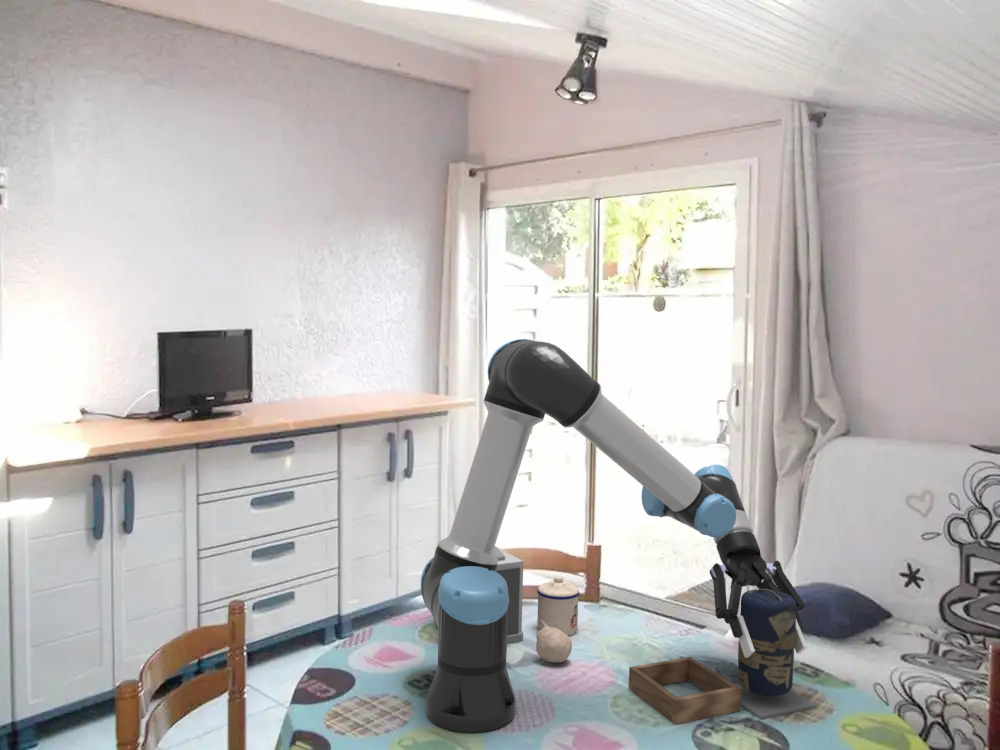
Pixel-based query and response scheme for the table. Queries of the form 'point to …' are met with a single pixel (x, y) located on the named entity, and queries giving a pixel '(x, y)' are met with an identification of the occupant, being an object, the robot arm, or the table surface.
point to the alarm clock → (511, 592)
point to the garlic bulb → (553, 644)
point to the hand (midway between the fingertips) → (776, 652)
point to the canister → (768, 642)
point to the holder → (711, 703)
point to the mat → (772, 703)
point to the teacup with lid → (558, 605)
